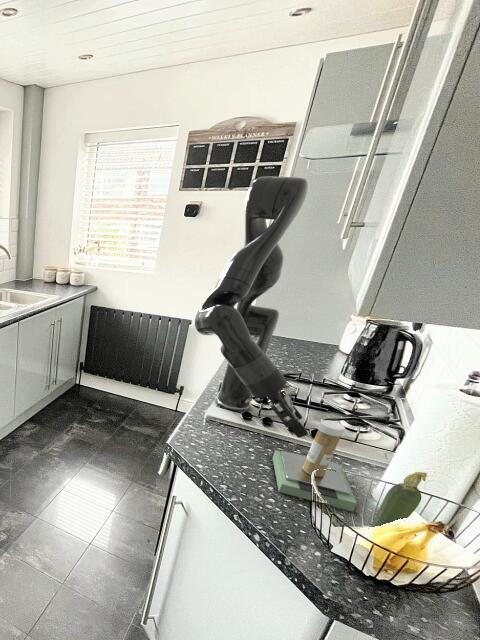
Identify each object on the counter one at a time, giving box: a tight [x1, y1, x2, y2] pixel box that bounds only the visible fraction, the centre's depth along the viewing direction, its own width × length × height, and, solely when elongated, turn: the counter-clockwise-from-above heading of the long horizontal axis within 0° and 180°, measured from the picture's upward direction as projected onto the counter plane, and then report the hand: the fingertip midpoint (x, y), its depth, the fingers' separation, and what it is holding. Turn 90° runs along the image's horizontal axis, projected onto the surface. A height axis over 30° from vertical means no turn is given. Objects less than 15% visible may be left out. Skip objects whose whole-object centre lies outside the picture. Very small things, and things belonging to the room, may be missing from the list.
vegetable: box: [368, 471, 429, 528], centre depth 80 cm, size 4×4×20 cm
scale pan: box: [279, 450, 350, 496], centre depth 104 cm, size 13×12×1 cm
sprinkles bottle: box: [302, 419, 346, 477], centre depth 100 cm, size 5×5×14 cm
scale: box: [272, 450, 358, 512], centre depth 103 cm, size 16×14×3 cm
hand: (300, 427), depth 101 cm, fingers open, 8 cm apart
